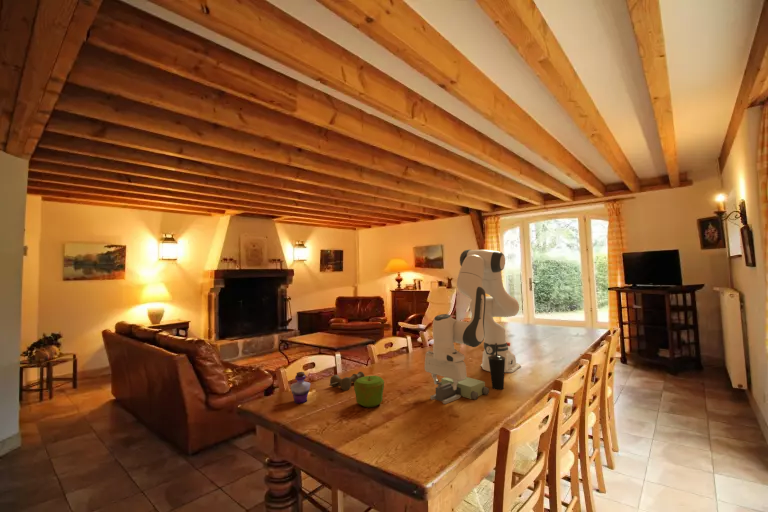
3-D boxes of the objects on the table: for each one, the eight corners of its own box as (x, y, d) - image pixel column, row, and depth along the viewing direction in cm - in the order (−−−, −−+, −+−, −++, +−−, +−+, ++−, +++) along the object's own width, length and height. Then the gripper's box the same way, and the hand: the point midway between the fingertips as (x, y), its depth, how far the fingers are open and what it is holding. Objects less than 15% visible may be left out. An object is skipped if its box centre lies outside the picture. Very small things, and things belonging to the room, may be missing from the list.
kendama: (368, 384, 167) (335, 394, 153) (355, 381, 174) (323, 390, 160) (368, 371, 168) (335, 380, 154) (355, 368, 175) (323, 376, 161)
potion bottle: (314, 398, 148) (314, 370, 149) (305, 405, 140) (304, 376, 141) (296, 397, 151) (296, 369, 151) (286, 404, 142) (285, 374, 143)
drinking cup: (487, 389, 154) (485, 344, 155) (490, 384, 161) (489, 341, 162) (505, 391, 151) (503, 345, 152) (508, 386, 157) (506, 342, 158)
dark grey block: (448, 395, 149) (447, 381, 149) (455, 397, 146) (455, 383, 146) (435, 399, 144) (435, 385, 144) (443, 402, 141) (442, 388, 141)
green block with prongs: (453, 383, 163) (453, 373, 163) (489, 393, 148) (488, 382, 149) (420, 395, 149) (420, 383, 149) (456, 408, 134) (455, 395, 134)
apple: (368, 396, 149) (368, 370, 149) (391, 402, 141) (390, 374, 142) (348, 405, 139) (347, 377, 140) (370, 413, 131) (370, 382, 132)
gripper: (420, 350, 152) (421, 382, 151) (458, 359, 136) (459, 394, 135) (430, 348, 156) (431, 379, 155) (468, 356, 140) (469, 390, 140)
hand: (445, 386), depth 145 cm, fingers open, 8 cm apart
